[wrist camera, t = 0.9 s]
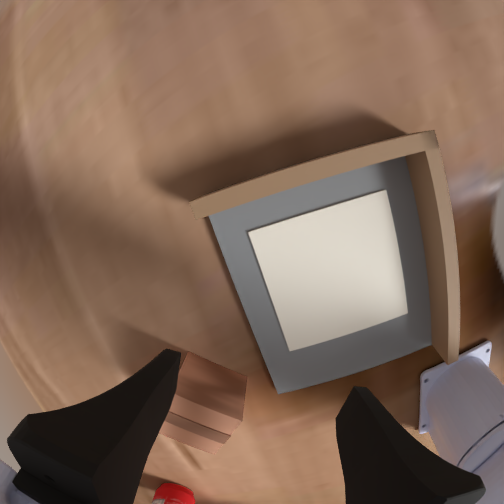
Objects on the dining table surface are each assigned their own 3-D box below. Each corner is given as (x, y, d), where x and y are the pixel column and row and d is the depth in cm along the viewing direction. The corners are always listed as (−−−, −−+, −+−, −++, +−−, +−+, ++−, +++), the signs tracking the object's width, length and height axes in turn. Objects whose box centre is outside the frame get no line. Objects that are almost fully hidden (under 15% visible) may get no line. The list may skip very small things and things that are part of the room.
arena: (438, 336, 21) (458, 360, 17) (278, 389, 23) (278, 420, 19) (408, 134, 17) (434, 130, 13) (203, 195, 19) (189, 202, 15)
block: (247, 375, 23) (241, 422, 18) (222, 411, 24) (214, 455, 19) (188, 350, 22) (171, 393, 17) (169, 389, 24) (152, 431, 19)
